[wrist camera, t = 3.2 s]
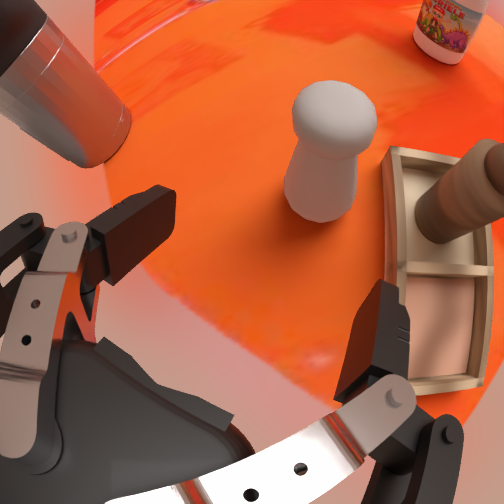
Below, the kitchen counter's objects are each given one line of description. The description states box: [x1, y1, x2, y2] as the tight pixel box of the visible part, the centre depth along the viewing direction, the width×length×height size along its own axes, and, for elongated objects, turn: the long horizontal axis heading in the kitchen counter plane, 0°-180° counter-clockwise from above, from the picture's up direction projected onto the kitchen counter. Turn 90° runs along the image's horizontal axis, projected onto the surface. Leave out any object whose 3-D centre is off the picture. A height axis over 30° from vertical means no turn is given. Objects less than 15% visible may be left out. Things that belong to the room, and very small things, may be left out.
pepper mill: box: [415, 139, 504, 244], centre depth 16 cm, size 5×5×12 cm
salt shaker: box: [284, 80, 377, 223], centre depth 18 cm, size 6×6×13 cm
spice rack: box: [381, 146, 494, 396], centre depth 20 cm, size 10×20×3 cm, turn 175°
